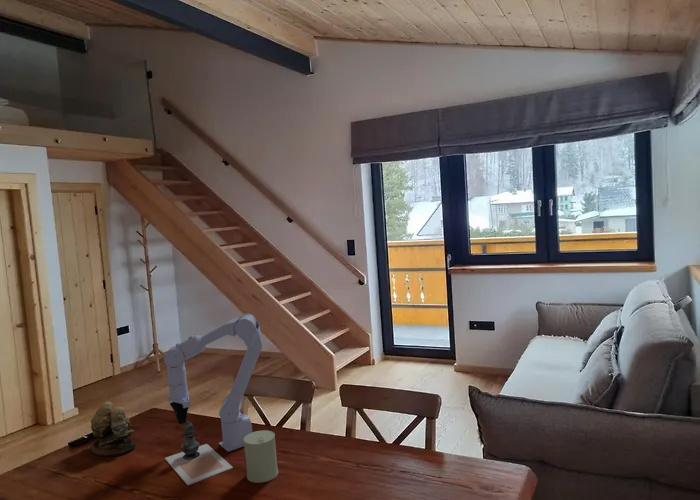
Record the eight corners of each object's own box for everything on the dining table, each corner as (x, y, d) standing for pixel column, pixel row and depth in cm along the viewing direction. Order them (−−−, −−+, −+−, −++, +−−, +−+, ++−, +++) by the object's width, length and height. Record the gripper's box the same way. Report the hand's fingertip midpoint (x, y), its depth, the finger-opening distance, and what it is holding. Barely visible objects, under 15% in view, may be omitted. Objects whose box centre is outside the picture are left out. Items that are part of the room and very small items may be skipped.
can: (252, 486, 146) (248, 445, 145) (243, 472, 154) (239, 434, 153) (282, 476, 150) (279, 436, 149) (272, 463, 158) (269, 425, 157)
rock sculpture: (147, 444, 179) (141, 396, 178) (119, 460, 168) (113, 410, 167) (109, 438, 186) (103, 392, 185) (80, 453, 176) (74, 405, 174)
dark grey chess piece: (195, 460, 163) (191, 423, 162) (178, 460, 165) (174, 423, 164) (204, 451, 169) (200, 416, 168) (187, 451, 170) (183, 416, 169)
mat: (206, 444, 175) (206, 443, 175) (233, 468, 157) (232, 467, 157) (164, 458, 167) (164, 457, 167) (187, 485, 149) (187, 484, 149)
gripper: (159, 381, 174) (163, 420, 175) (172, 391, 162) (176, 433, 163) (180, 375, 178) (184, 414, 179) (194, 385, 166) (198, 426, 167)
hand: (182, 422), depth 171 cm, fingers closed
